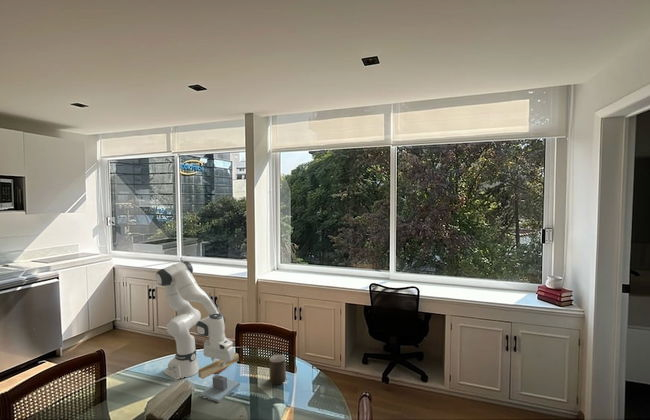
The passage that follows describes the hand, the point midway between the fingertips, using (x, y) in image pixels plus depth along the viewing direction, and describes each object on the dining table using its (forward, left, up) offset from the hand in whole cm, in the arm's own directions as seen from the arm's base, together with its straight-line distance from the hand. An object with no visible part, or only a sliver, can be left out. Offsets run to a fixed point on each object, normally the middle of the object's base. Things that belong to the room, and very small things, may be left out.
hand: (219, 365), depth 197 cm
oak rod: (0, 0, -2) cm, 2 cm away
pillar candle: (+26, +22, -16) cm, 37 cm away
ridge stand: (0, 0, -16) cm, 16 cm away
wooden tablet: (-19, +26, -16) cm, 36 cm away
